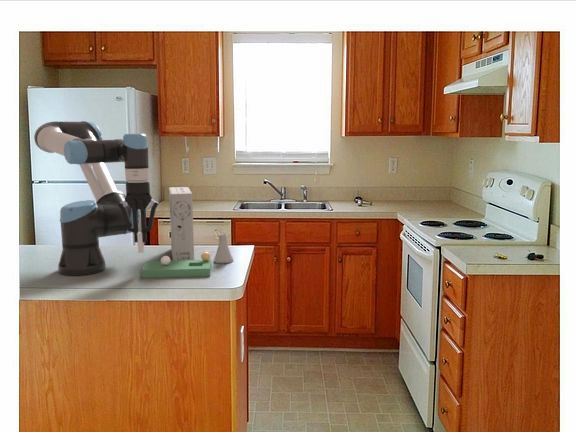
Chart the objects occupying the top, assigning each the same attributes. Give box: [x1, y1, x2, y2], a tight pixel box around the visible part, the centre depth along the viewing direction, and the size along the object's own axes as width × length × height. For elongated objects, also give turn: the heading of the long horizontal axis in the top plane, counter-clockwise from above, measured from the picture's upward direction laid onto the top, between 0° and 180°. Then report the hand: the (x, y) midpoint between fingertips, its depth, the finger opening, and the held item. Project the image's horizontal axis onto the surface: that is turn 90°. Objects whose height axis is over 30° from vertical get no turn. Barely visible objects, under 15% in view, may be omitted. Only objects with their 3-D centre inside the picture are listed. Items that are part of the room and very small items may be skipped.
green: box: [141, 259, 213, 279], centre depth 178 cm, size 22×12×2 cm, turn 96°
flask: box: [213, 233, 234, 264], centre depth 192 cm, size 7×7×10 cm
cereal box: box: [168, 186, 195, 261], centre depth 201 cm, size 22×8×25 cm, turn 14°
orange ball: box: [200, 251, 212, 261], centre depth 183 cm, size 3×3×3 cm
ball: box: [160, 255, 171, 265], centre depth 178 cm, size 3×3×3 cm
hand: (141, 251), depth 176 cm, fingers closed
